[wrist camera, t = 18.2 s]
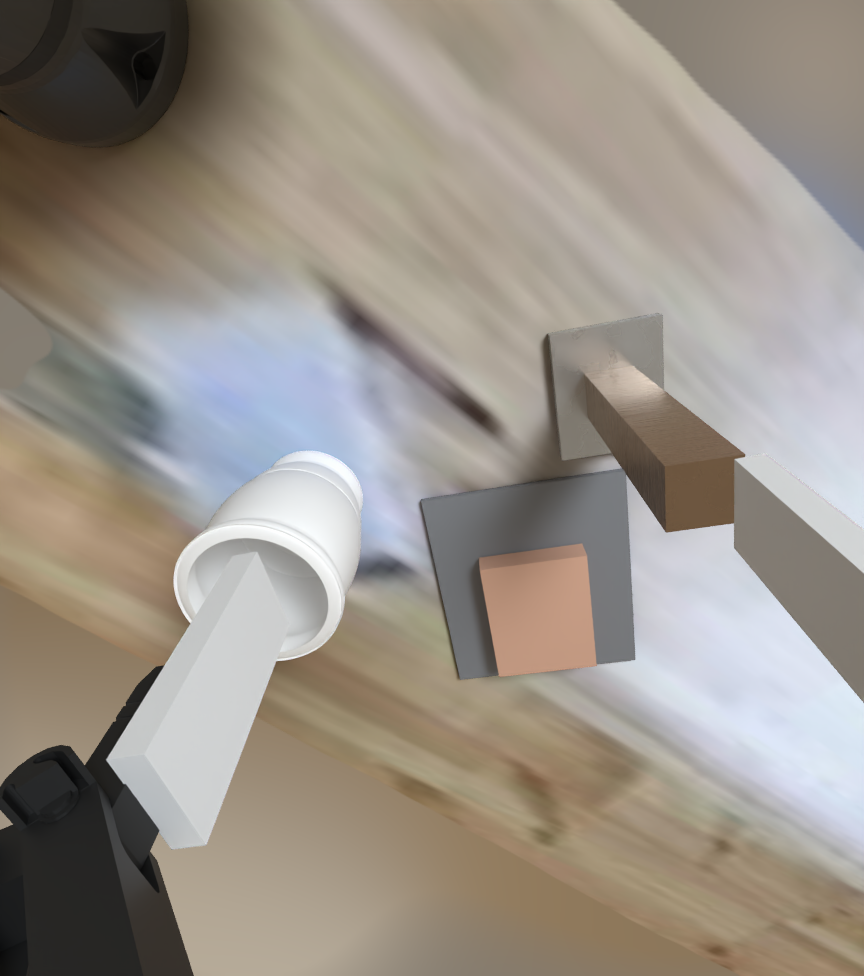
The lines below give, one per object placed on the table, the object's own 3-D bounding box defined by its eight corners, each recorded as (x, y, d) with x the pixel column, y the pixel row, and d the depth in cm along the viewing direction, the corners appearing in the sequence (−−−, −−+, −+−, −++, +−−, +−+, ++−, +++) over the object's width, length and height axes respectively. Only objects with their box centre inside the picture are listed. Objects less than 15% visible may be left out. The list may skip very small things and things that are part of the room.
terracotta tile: (479, 570, 47) (499, 676, 52) (587, 555, 46) (596, 666, 51) (478, 556, 49) (497, 660, 54) (581, 542, 48) (591, 650, 53)
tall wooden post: (547, 333, 42) (610, 406, 24) (658, 312, 41) (804, 374, 23) (560, 456, 46) (621, 593, 28) (660, 440, 45) (787, 572, 28)
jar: (243, 525, 50) (163, 637, 36) (265, 420, 45) (183, 502, 32) (358, 560, 51) (321, 681, 37) (390, 460, 46) (362, 555, 33)
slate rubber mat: (421, 499, 48) (421, 501, 47) (624, 468, 46) (625, 470, 45) (460, 676, 56) (460, 679, 56) (633, 656, 54) (635, 659, 54)
